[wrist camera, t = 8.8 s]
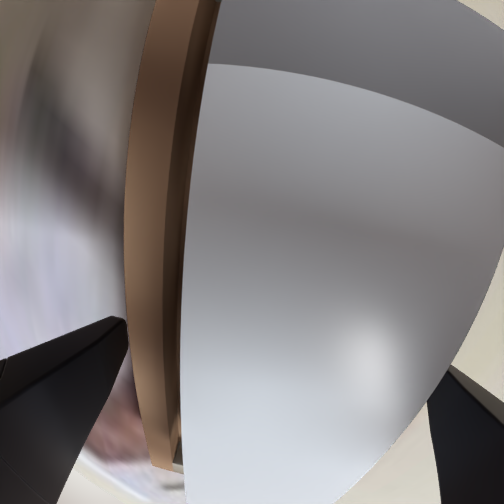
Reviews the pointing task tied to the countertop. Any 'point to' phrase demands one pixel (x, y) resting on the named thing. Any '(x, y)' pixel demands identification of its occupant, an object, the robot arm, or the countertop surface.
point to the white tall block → (333, 236)
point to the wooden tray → (163, 210)
